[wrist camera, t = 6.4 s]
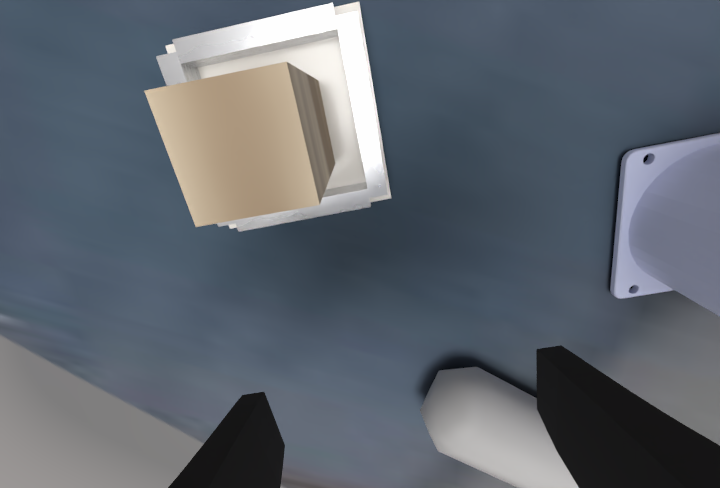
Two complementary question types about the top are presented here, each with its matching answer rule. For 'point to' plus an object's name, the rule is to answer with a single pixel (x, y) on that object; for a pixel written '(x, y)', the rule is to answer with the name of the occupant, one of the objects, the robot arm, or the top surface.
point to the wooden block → (246, 142)
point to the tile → (330, 72)
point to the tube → (493, 429)
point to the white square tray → (279, 36)
